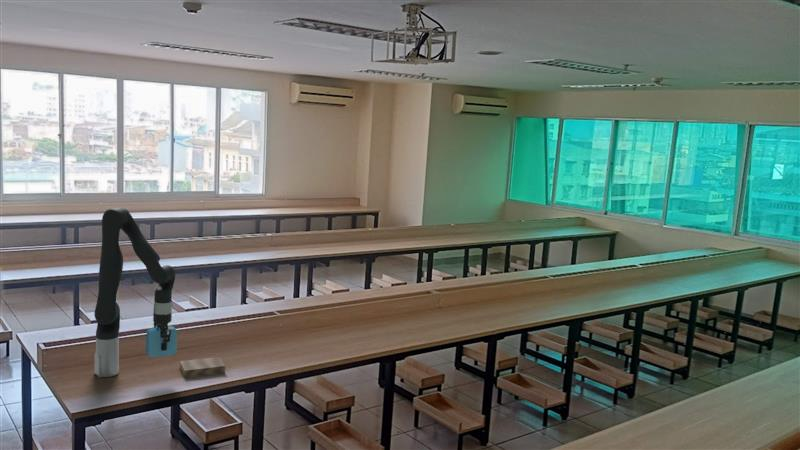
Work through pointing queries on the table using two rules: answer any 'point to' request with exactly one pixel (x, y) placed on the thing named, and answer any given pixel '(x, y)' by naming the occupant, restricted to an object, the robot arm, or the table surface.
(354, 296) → the table surface
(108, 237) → the robot arm
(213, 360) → the mottled brown block
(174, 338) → the data package
